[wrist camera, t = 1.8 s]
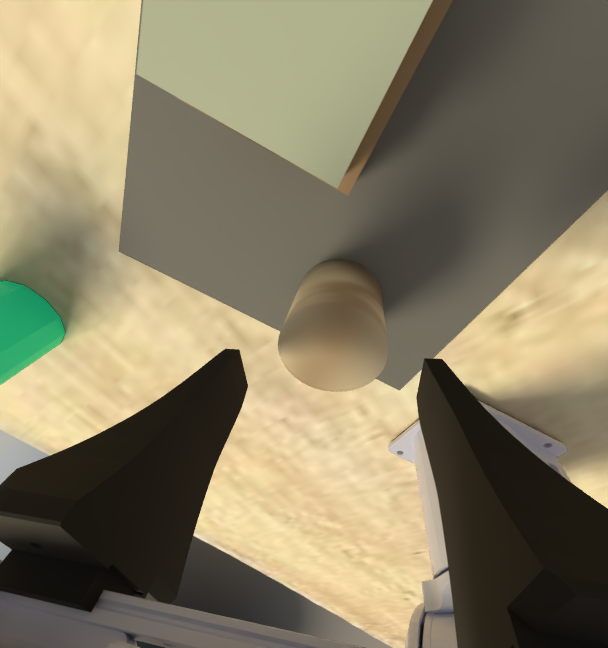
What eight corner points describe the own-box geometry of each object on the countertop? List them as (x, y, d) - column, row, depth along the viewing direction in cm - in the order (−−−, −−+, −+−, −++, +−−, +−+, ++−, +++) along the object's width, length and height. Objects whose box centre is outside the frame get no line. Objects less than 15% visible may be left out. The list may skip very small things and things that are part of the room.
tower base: (459, -22, 10) (492, -75, 7) (350, 184, 14) (347, 195, 11) (270, -154, 9) (234, -266, 6) (212, 104, 13) (175, 97, 10)
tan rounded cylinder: (399, 285, 16) (412, 338, 12) (353, 345, 18) (350, 405, 14) (321, 243, 15) (306, 283, 11) (285, 311, 18) (262, 363, 14)
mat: (707, 82, 10) (721, 80, 10) (398, 385, 20) (399, 390, 20) (181, -307, 8) (171, -330, 8) (124, 248, 18) (118, 251, 18)
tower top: (461, -58, 7) (510, -154, 5) (342, 176, 11) (337, 188, 8) (248, -212, 7) (181, -413, 4) (191, 88, 10) (136, 73, 8)
